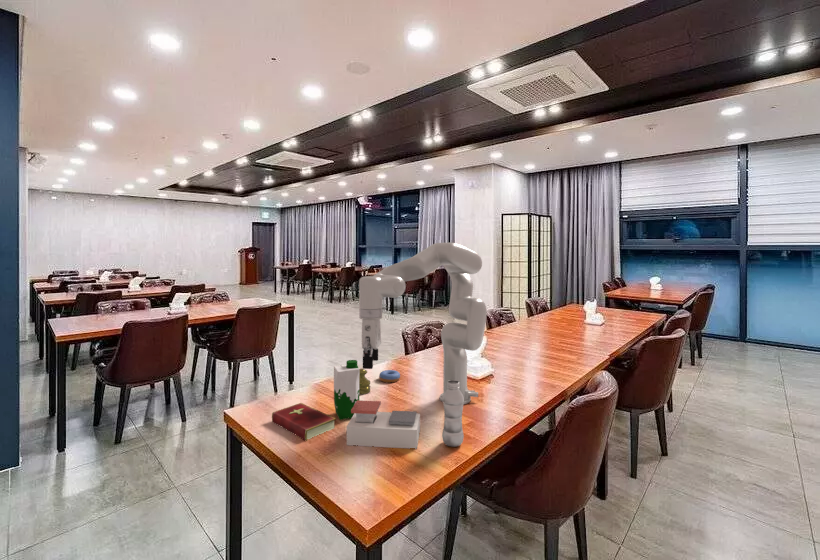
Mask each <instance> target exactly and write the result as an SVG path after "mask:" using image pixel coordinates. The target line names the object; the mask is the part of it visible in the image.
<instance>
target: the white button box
mask: <svg viewBox="0 0 820 560" xmlns="http://www.w3.org/2000/svg"><path fill="white" fill-rule="evenodd" d="M391 414H392V412H390V411H377V413H376V420H375V422H374V423H356V413H354V415H353V417H352V418H350V420H349V422H348V424H347V425H346V446H353V445H356V447H357V445H358V447H372V446H374V448H376V447H377V448H392V449H393V448H395V449H410V448H415V449H414V450H417V449H418V444H419V440H420V439H419V438H420V434H419V433H420V432H421V413H418V412H417V415H416V419H415V424H414V425H395V424H389V419H390V416H391Z"/></svg>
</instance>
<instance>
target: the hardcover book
mask: <svg viewBox="0 0 820 560" xmlns="http://www.w3.org/2000/svg"><path fill="white" fill-rule="evenodd" d="M335 420H337V419H336V417H333V416H331V415H329V414H327V413H325V412H323V411H320V410H318V409H316V408H314V407H312V406H310V405H307V404H305V403H302V402H300V403H296V404H294V405H289V406H287V407H284V408H281V409H279V410H276V411H273V412H272V413H271V421H272V423H273V422H274V423H273V424H275V423H276V424H275V425H277V424H278V425H277V426H279V425H280V426H282V427H283V429H284V428H285V429H284V430H286V429H287V430H286V431H287V432H289V431H290V432H289V433H291V432H292V433H291V434H293V433H294V434H293V435H295V434H296V435H297V437H298V436H299V437H298V438H300V437H301V438H300V439H302V438H303V439H302V440H304V441H305V440H306V442H308V440H310V439H312V437H313V438H315V437H318V436H320V435H321V434H324V432H325V433H327V432H329V431H331V430H334V429H335ZM280 426H279V427H280ZM282 427H281V428H282ZM326 431H327V432H326ZM319 434H320V435H319ZM296 435H295V436H296ZM317 435H318V436H317ZM314 436H315V437H314ZM307 439H308V440H307Z"/></svg>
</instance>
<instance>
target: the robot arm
mask: <svg viewBox="0 0 820 560" xmlns="http://www.w3.org/2000/svg"><path fill="white" fill-rule="evenodd" d="M442 266H443V267H444V269H445V270H446V272H447V273H448V276H449V278H450V279H451V291H450V292H451V293H450V299H449V304H448V305H449V306H448V313H449V316H450V317H451V318H452V319H455V320H460V321H463V322H466V324H465V323H460V322H454V321H451V322H447V323H445V324H444V325H443V326H442V328H441V332H440V338H441V343H442V349H443V351H442V352H443V370H442V371H443V376H442V377H443V381H442V382H443V385H442V386H443V388H442V389H443V391H442V393H440V395H439V401H441V402H442V403H443V396H444V394H445V392H446V391H447V390H448V388H447V382H448V381H449V380H456V381H459V386H460V388H459V390H460V392H461V393H462V395H463V397H464V404H463V405H467V404H468V403H470V402H471V399H472V398H478V397H479V392H478V391H476V390H470V389H469V388H468V355H467V352H466V351H467V350H468V351H471V352H473V351H477V350H478V349H480V347H482V343H483V341H484V335H485V329H486V328H485V327H486V323H487V322H486V321H487V313H488V310H487V305H486V303H485V302H484V300H482V299H481V298H479V297H473V292H474V291H473V290H474V284H473V279H472V277H471V276H470V275H474V274H477V273H479V272H480V271H481V269H482V266H483V259H482V257H481V255H479V253H477V252H476V251H474V250H472V249H470V248H467V247H466V246H464V245H462V244H459V243H456V242H436V243H433V244H431V245H429V246H427V247H426V248H424V249H423V250H421V251H420V252H418V253H416V254H415V255H413V256H411V257H409V258H407V259H404V260H401V261H399V262H397V263H393V264H391V265H388V266H387V267H385V268H382V269H381V270H379V271H378V272H376V273H375V274H373V276H372V275H371V276H369V275H368V276H367V275H366V276H362V277H360V278H359V282H358V284H359V286H358V287H359V288H358V289H359V290H358V291H359V294H358V298H359V303H358V304H359V305H358V306H359V307H358V308H359V317H358V318H359V320H360V319H361V349H363V350H362V369H365V370H372V369H373V368H374V362H375V361H376V362H377V361H379V348H380V346H381V344H382V334H381V333H382V331H381V319H382V318H383V298H393V299H395V298H398V297H401V296H403V294H404V293H405V291H406V288H407V287H406V282H409V281H416V280H419V279H423V278H425V277H426V276H428V275H430V273H432V272H434V271H435V270H437V269H438V268H439V267H442ZM471 397H472V398H471Z"/></svg>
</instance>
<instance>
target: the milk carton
mask: <svg viewBox="0 0 820 560" xmlns="http://www.w3.org/2000/svg"><path fill="white" fill-rule="evenodd" d="M345 362H346V364H339V365H334V366H333V405H334V409H335V411H334V412H335V414H336V416H337V417H338V419H339V421H343V420H347V419H348V420H349V419H351V418H352V417H353V415H354V413H351V409H352V408H353V406H354V405H355V403H356V402H357V400H360V394H359V371H360V369H361V368H359V365H358V360H357V359H348V360H346V361H345Z"/></svg>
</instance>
